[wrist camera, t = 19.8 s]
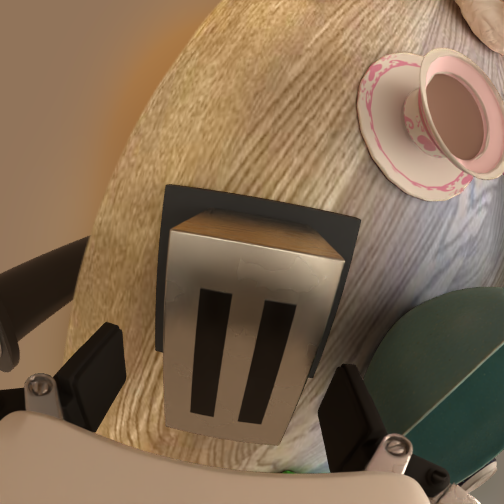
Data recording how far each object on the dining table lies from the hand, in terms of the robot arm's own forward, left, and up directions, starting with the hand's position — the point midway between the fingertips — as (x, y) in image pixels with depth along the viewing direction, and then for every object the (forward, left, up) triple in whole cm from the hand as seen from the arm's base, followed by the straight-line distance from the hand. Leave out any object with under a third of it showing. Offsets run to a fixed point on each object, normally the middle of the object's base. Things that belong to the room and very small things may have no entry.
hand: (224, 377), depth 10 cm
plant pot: (+16, -3, -10) cm, 19 cm away
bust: (+19, +30, -10) cm, 37 cm away
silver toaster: (0, 0, -8) cm, 8 cm away
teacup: (+11, +15, -10) cm, 21 cm away
